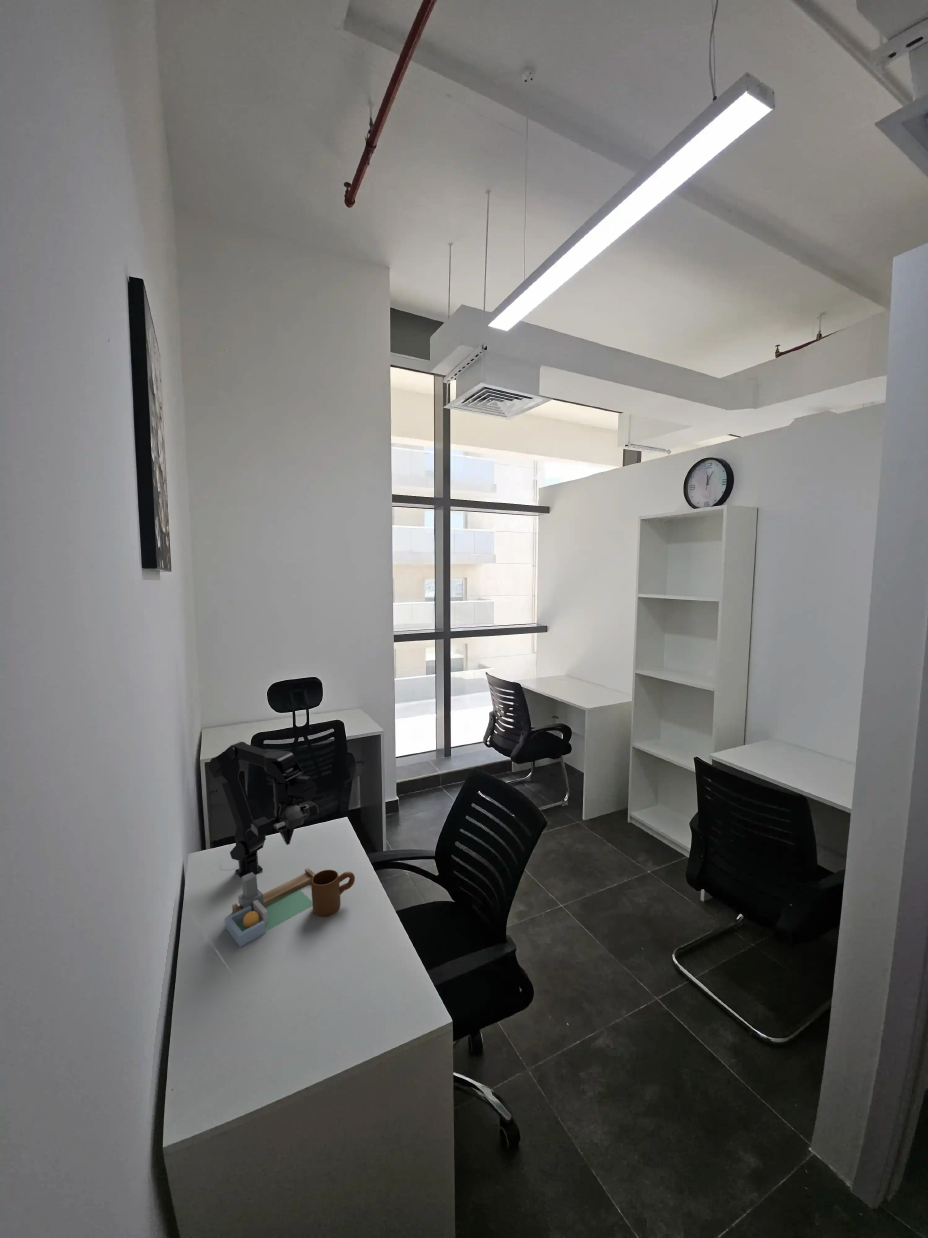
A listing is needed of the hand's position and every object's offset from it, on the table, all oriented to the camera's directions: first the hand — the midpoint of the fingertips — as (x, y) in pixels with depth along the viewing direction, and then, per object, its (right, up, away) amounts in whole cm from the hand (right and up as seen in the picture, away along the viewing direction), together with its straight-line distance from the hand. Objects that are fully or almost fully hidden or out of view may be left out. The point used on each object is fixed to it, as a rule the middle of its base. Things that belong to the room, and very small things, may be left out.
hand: (287, 844), depth 147 cm
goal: (-4, -15, -18) cm, 24 cm away
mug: (+17, -13, -10) cm, 24 cm away
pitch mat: (0, -14, -13) cm, 19 cm away
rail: (-2, -13, -5) cm, 14 cm away
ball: (-5, -14, -18) cm, 23 cm away
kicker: (-4, -13, -12) cm, 19 cm away
